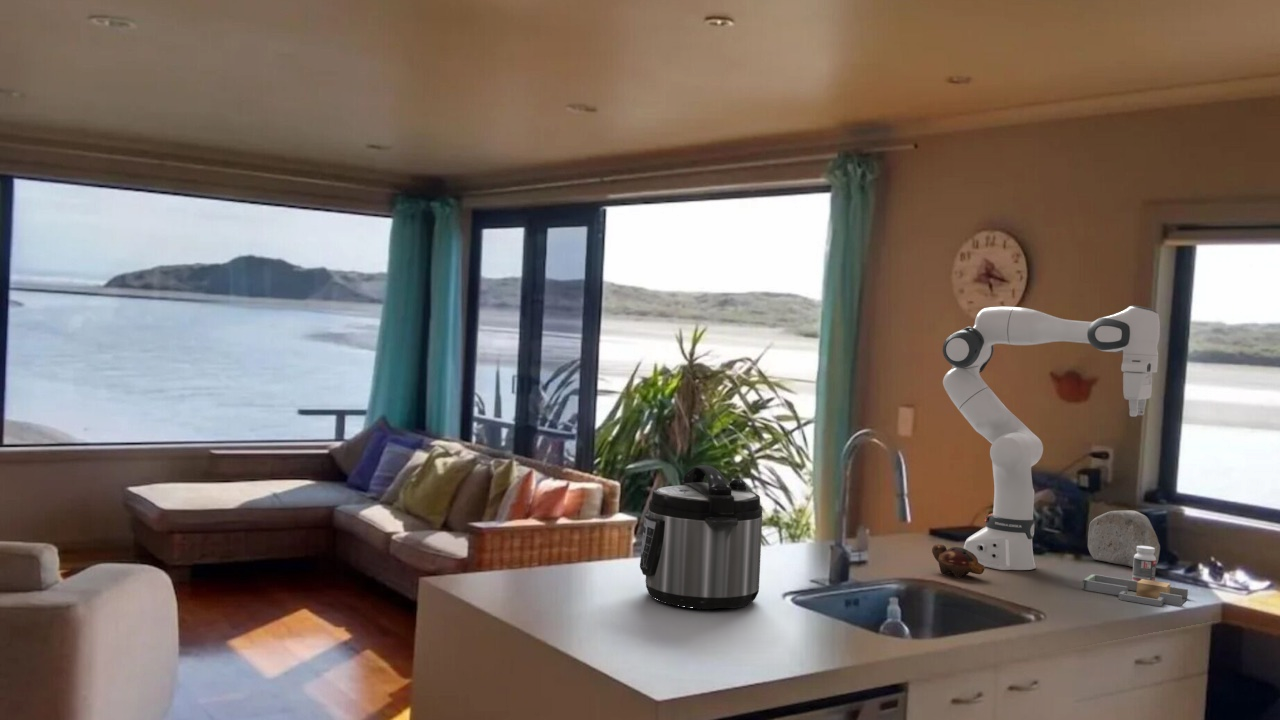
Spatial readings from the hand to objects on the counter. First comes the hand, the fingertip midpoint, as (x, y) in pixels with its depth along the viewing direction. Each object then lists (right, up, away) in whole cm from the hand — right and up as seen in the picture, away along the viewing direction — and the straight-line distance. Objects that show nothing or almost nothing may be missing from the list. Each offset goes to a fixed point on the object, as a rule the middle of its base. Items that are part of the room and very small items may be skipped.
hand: (1136, 415), depth 311 cm
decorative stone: (+10, -47, +31) cm, 57 cm away
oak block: (-1, -47, -12) cm, 49 cm away
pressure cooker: (-122, -42, -41) cm, 136 cm away
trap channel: (-6, -47, -12) cm, 49 cm away
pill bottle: (+4, -47, +6) cm, 48 cm away
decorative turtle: (-49, -44, +2) cm, 66 cm away
